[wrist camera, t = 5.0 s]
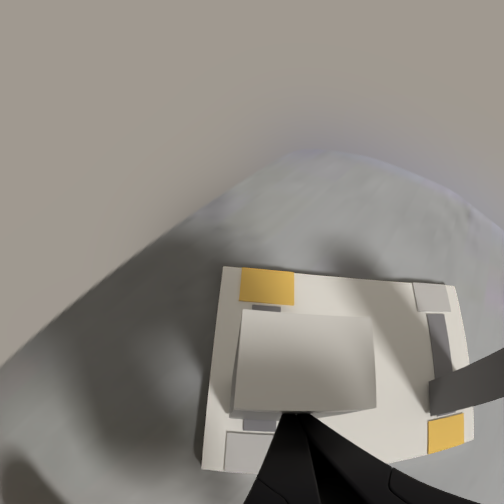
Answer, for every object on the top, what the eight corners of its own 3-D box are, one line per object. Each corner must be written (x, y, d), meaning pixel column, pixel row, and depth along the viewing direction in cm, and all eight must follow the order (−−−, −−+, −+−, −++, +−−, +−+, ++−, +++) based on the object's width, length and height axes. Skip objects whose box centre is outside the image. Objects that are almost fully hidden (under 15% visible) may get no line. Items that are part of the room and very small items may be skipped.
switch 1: (292, 421, 15) (376, 407, 6) (228, 418, 14) (234, 407, 6) (293, 379, 16) (371, 317, 8) (232, 375, 16) (242, 309, 7)
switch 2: (464, 408, 15) (576, 365, 6) (430, 416, 15) (552, 377, 6) (462, 376, 16) (568, 320, 8) (428, 381, 16) (543, 324, 8)
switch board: (467, 440, 14) (474, 439, 13) (202, 467, 13) (201, 469, 13) (449, 290, 21) (455, 285, 21) (223, 272, 21) (223, 265, 20)
